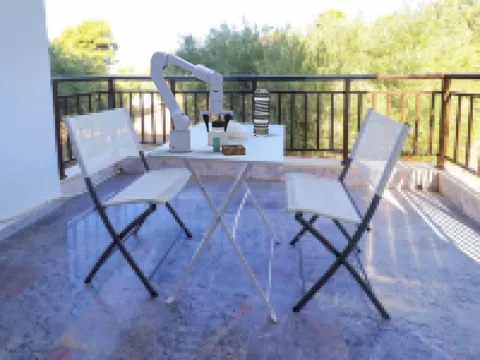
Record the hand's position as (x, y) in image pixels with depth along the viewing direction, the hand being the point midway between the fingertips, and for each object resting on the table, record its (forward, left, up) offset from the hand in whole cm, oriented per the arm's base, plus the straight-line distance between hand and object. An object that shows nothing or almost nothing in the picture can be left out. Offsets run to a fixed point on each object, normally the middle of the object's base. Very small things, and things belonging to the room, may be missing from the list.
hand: (216, 131), depth 208 cm
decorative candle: (+31, +44, -9) cm, 54 cm away
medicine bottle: (+3, +16, -9) cm, 18 cm away
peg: (0, 0, -9) cm, 9 cm away
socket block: (+6, -6, -9) cm, 13 cm away
